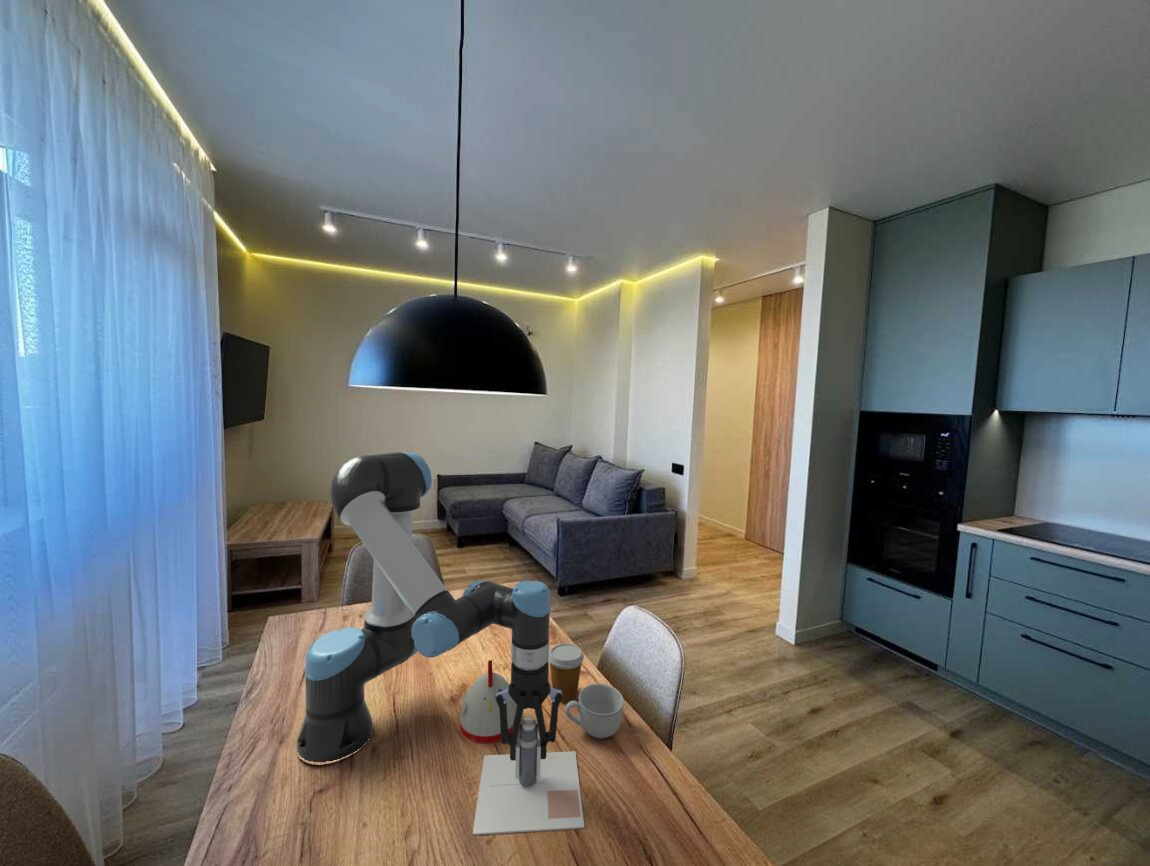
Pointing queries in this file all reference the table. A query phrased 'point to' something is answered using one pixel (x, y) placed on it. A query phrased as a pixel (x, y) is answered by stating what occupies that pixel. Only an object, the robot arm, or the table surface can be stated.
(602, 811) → the table surface
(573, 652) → the disposable coffee cup
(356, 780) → the table surface
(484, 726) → the kitchen timer
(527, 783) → the marker
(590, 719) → the teacup
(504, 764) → the paper
